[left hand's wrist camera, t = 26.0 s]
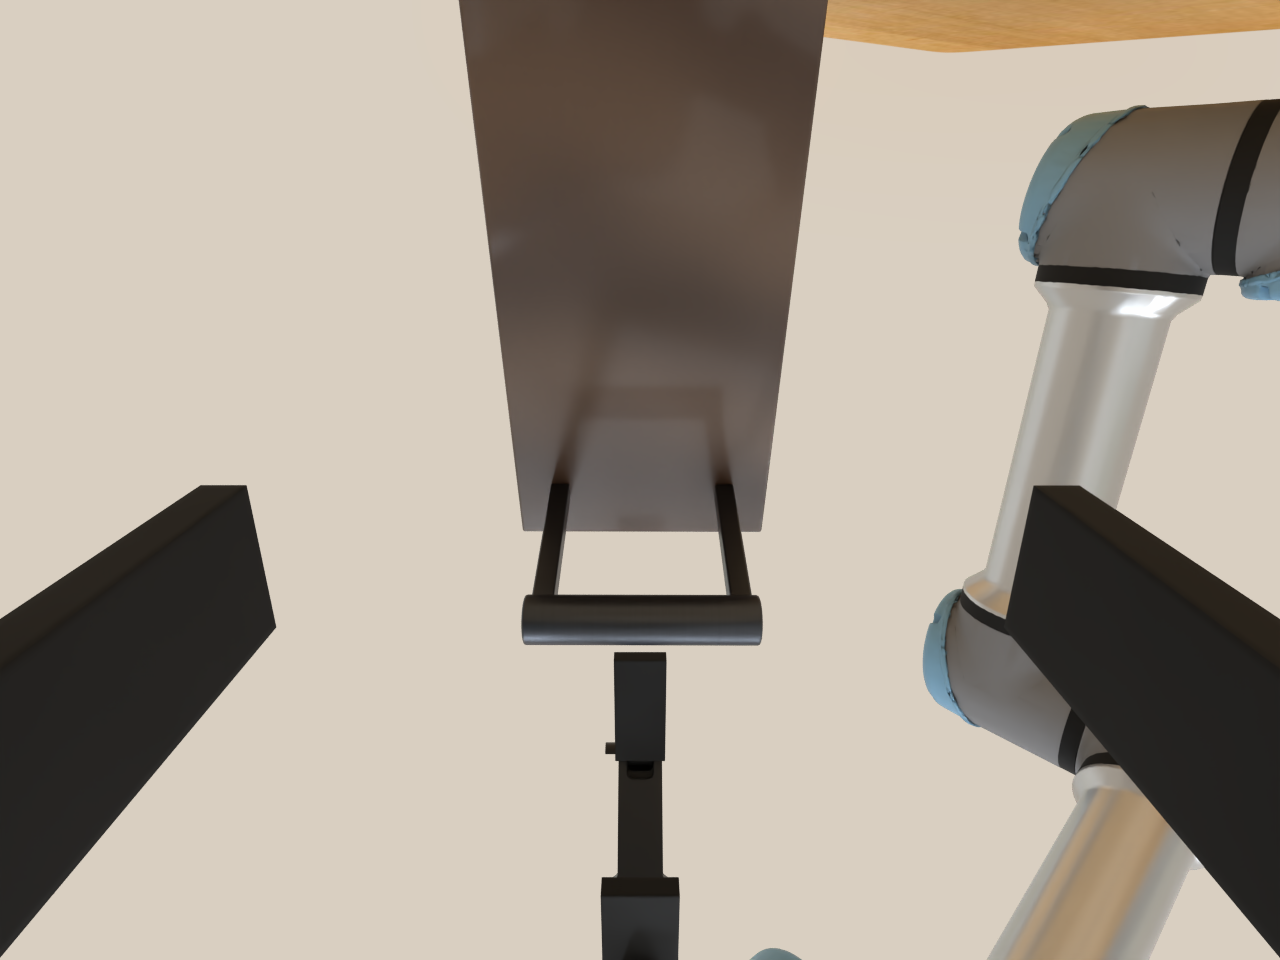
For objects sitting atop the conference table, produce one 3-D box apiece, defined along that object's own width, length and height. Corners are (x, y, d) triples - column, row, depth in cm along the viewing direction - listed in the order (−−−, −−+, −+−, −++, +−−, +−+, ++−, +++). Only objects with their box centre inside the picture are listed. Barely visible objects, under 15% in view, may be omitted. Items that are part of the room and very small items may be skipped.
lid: (758, 517, 30) (791, 683, 23) (525, 517, 30) (491, 682, 23) (824, -27, 19) (921, -12, 13) (462, -27, 19) (365, -13, 13)
